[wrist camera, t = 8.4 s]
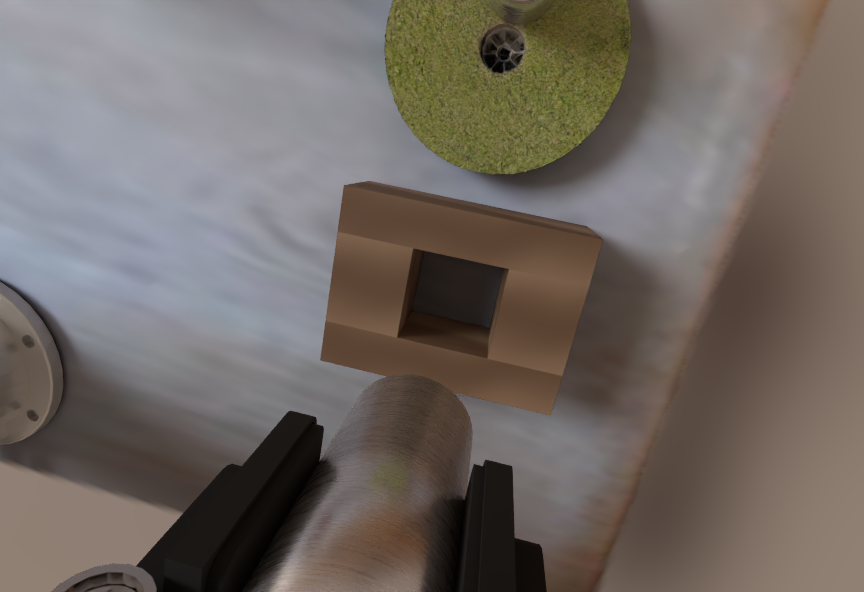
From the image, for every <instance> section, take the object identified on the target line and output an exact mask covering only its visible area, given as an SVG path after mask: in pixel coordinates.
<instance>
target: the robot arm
mask: <svg viewBox="0 0 864 592" xmlns="http://www.w3.org/2000/svg"><path fill="white" fill-rule="evenodd" d="M62 391H63V369H62V365H61V360H60V356H59V352H58V350H57V347H56V345H55V342H54V340H53V337H52V336H51V334H50V332H49V331H48V329H47V327H46V326H45V324H44V322H43V321H42V319H41V318H40V317H39V316H38V315H37V313H36V312H35V311H34V310H33V308H32V307H31V306H30V305H29V304H28V303H27V302H26V301H25V300H24V299H22V298H21V297H20V296H19V295H18V294H17V293H16V292H14V291H13V290H12V289H10V288H9V287H7V286H6V285H4V284H3V283H1V282H0V445H6V444H11V443H15V442H18V441H21V440H23V439H25V438H27V437H29V436H30V435H32V434H34V433H36V432H37V431H39V430H40V429H41V428H43V427H44V426H45V425H47V424H48V423H49V421H50V420H51V419H52V417H53V416H54V415H55V414H56V411H57V409H58V406H59V404H60V402H61V397H62ZM316 424H317V420H316V417H314V416H310V415H306V414H302V413H298V412H294V411H289V412H288V413H287V414H286V415H285V416H284V417H283V418H282V420H281V421H280V422H279V423H278V424H277V426H276V427H275V428H274V429H273V430H272V431H271V433H270V434H269V435H268V436H267V437H266V439H265V440H264V441H263V442H262V443H261V444H260V446H259V447H258V448H257V449H256V450H255V452H254V453H253V454H252V455H251V456H250V457H249V459H248V460H247V461H246V462H245V463H244V465H243V466H238V465H234V464H230V465H227V466H226V467H225V468H224V469H223V470H222V471H221V472H220V473H219V474H218V475H217V476H216V478H215V479H214V480H213V481H212V482H211V483H210V484H209V485H208V487H207V488H206V489H205V490H204V491H203V492H202V493H201V494H200V495H199V497H198V498H197V499H196V500H195V501H194V502H193V503H192V504H191V505H190V507H189V508H188V509H187V510H186V511H185V512H184V513H183V514H182V515H181V517H180V518H179V519H178V520H177V521H176V522H175V523H174V524H173V525H172V527H171V528H170V529H169V530H168V531H167V532H166V533H165V534H164V536H163V537H162V538H161V539H160V540H159V541H158V542H157V544H155V546H154V547H153V548H152V549H151V550H150V551H149V552H148V553H147V555H146V556H145V557H144V558H143V559H142V560H141V561H140V562H139V563H138V564H137V566H133V565H130V564H109V565H102V566H97V567H93V568H91V569H88V570H86V571H83V572H80V573H78V574H76V575H74V576H72V577H71V578H69V579H67V580H66V581H64V582H63V583H61V584H59V585H58V586H57V587H56V588H55V589H54V590H53V591H52V592H241V591H242V590H243V588H244V586H245V585H246V583H247V581H248V580H249V578H250V576H251V575H252V573H253V571H254V570H255V568H256V566H257V565H258V563H259V561H260V560H261V558H262V556H263V555H264V553H265V551H266V550H267V548H268V546H269V545H270V543H271V541H272V540H273V538H274V536H275V535H276V533H277V531H278V530H279V528H280V526H281V525H282V523H283V522H284V520H285V518H286V517H287V515H288V513H289V512H290V510H291V508H292V507H293V505H294V503H295V502H296V500H297V498H298V497H299V495H300V493H301V492H302V490H303V488H304V487H305V485H306V483H307V482H308V480H309V478H310V477H311V475H312V473H313V472H314V470H315V468H316V467H317V465H318V463H319V460H320V453H321V446H322V439H323V432H324V428H323V426H320V425H316ZM454 592H546V582H545V572H544V562H543V553H542V548H541V546H540V545H539V544H535V543H532V542H528V541H524V540H520V539H516V538H515V537H514V503H513V470H512V466H509V465H505V464H501V463H497V462H493V461H489V460H485V462H484V465H483V466H479V465H475V464H474V466H473V469H472V473H471V477H470V481H469V485H468V488H467V492H466V496H465V500H464V509H463V518H462V527H461V536H460V544H459V553H458V562H457V571H456V580H455V589H454Z"/></svg>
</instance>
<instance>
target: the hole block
mask: <svg viewBox="0 0 864 592" xmlns="http://www.w3.org/2000/svg"><path fill="white" fill-rule="evenodd" d="M602 242H603V239H601V238H600V237H599V236H598V235H597V234H595V233H594V232H593V231H592V230H590V229H589V228H588V227H587V226H582V225H578V224H573V223H568V222H563V221H558V220H554V219H549V218H544V217H539V216H534V215H530V214H525V213H520V212H515V211H511V210H506V209H501V208H496V207H491V206H487V205H482V204H477V203H472V202H467V201H463V200H458V199H453V198H448V197H443V196H439V195H434V194H429V193H424V192H419V191H415V190H410V189H405V188H400V187H396V186H391V185H386V184H381V183H376V182H372V181H366V182H360V183H355V184H349V185H344V189H343V197H342V204H341V211H340V219H339V226H338V234H337V241H336V248H335V256H334V263H333V271H332V278H331V285H330V293H329V300H328V308H327V315H326V322H325V330H324V337H323V345H322V352H321V359H320V360H321V361H325V362H330V363H334V364H338V365H342V366H346V367H351V368H355V369H359V370H363V371H367V372H371V373H376V374H380V375H384V376H388V377H389V376H393V375H401V374H410V375H418V376H423V377H426V378H429V379H432V380H434V381H436V382H438V383H440V384H442V385H443V386H445V387H446V388H448V389H449V390H450V391H452V392H455V393H459V394H463V395H467V396H472V397H476V398H480V399H484V400H488V401H492V402H497V403H501V404H505V405H509V406H513V407H517V408H522V409H526V410H530V411H534V412H538V413H542V414H547V415H551V413H552V409H553V406H554V403H555V399H556V396H557V393H558V389H559V386H560V383H561V379H562V376H563V373H564V369H565V366H566V363H567V359H568V356H569V352H570V349H571V346H572V342H573V339H574V336H575V332H576V329H577V326H578V322H579V319H580V316H581V312H582V309H583V306H584V302H585V299H586V296H587V292H588V289H589V286H590V282H591V279H592V276H593V272H594V269H595V265H596V262H597V259H598V255H599V252H600V249H601V245H602ZM424 251H428V252H433V253H437V254H442V255H447V256H451V257H456V258H460V259H465V260H469V261H474V262H479V263H483V264H488V265H492V266H497V267H502V268H504V271H503V275H502V279H501V283H500V287H499V292H498V296H497V300H496V304H495V308H494V312H493V316H492V320H491V325H490V328H487V327H482V326H478V325H473V324H469V323H465V322H460V321H456V320H451V319H447V318H443V317H438V316H434V315H430V314H425V313H421V312H416V311H413V305H414V300H415V295H416V289H417V284H418V279H419V274H420V268H421V263H422V258H423V253H424Z"/></svg>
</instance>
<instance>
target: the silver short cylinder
mask: <svg viewBox="0 0 864 592" xmlns="http://www.w3.org/2000/svg"><path fill="white" fill-rule="evenodd" d="M553 1H554V0H488V2H489V4H490V6H491V8H492V10H493V11H494V12H495V13H496V15H497V16H499V17H500V18H501V19H503V20H505V21H507V22H509V23H513V24H524V23H529V22H532V21H534V20H536V19H538V18H539V17H541V16H542V15H543V14H544V13H545V12H546V11H547V10H548V9H549V7H550V6H551V5H552V3H553Z"/></svg>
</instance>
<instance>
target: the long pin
mask: <svg viewBox="0 0 864 592" xmlns="http://www.w3.org/2000/svg"><path fill="white" fill-rule="evenodd" d="M472 436H473V432H472V424H471V421H470V417H469V415H468V413H467V410H466V409H465V407H464V405H463V404H462V402H461V401H460V400H459V399H458V397H457V396H456V395H455V394H454V393H453V392H452V391H450V390H449V389H448V388H446V387H445V386H443V385H442V384H440V383H438V382H436V381H434V380H432V379H429V378H426V377H423V376H418V375H410V374H401V375H393V376H389V377H386V378H383V379H380V380H378V381H376V382H374V383H373V384H371V385H370V386H368V387H367V388H366V389H365V390H364V391H363V392H362V393H361V395H360V396H359V397H358V399H357V400H356V402H355V404H354V405H353V407H352V409H351V410H350V412H349V414H348V415H347V417H346V419H345V420H344V422H343V424H342V425H341V427H340V429H339V430H338V432H337V434H336V435H335V437H334V439H333V440H332V442H331V444H330V445H329V447H328V448H327V450H326V452H325V453H324V455H323V457H322V458H321V460H320V462H319V463H318V465H317V467H316V468H315V470H314V472H313V473H312V475H311V477H310V478H309V480H308V482H307V483H306V485H305V487H304V488H303V490H302V492H301V493H300V495H299V497H298V498H297V500H296V502H295V503H294V505H293V507H292V508H291V510H290V512H289V513H288V515H287V517H286V518H285V520H284V522H283V523H282V525H281V526H280V528H279V530H278V531H277V533H276V535H275V536H274V538H273V540H272V541H271V543H270V545H269V546H268V548H267V550H266V551H265V553H264V555H263V556H262V558H261V560H260V561H259V563H258V565H257V566H256V568H255V570H254V571H253V573H252V575H251V576H250V578H249V580H248V581H247V583H246V585H245V586H244V588H243V590H242V591H241V592H454V589H455V580H456V571H457V562H458V553H459V544H460V536H461V527H462V518H463V509H464V500H465V496H466V492H467V485H468V476H469V467H470V457H471V448H472Z"/></svg>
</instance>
